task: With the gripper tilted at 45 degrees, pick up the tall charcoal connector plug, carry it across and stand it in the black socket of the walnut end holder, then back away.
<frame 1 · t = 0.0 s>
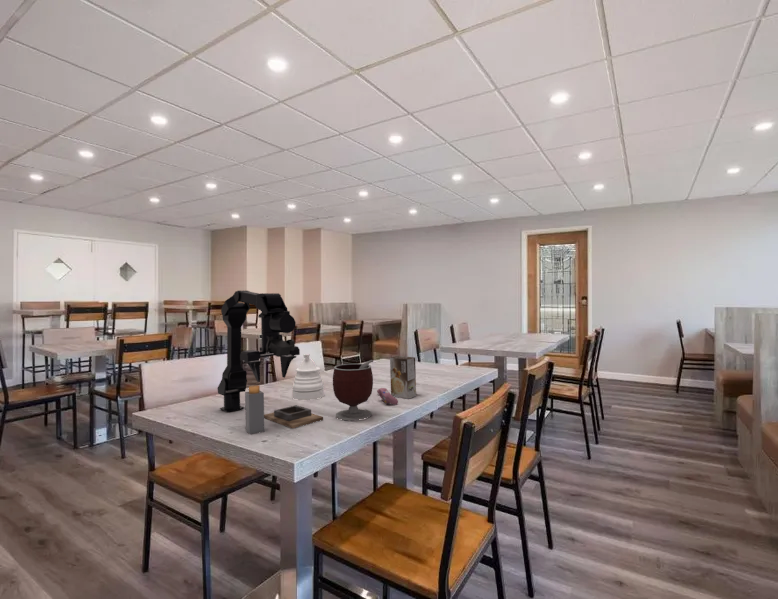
hand: (271, 379, 133), 15 cm above the table, tool pointing down, fingers open, 9 cm apart
mate gourd: (355, 416, 141), on the table
end holder: (292, 418, 139), on the table
connector plug: (255, 431, 127), on the table
honey pot: (308, 397, 170), on the table
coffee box: (403, 396, 168), on the table
pink oblong lump: (387, 403, 158), on the table
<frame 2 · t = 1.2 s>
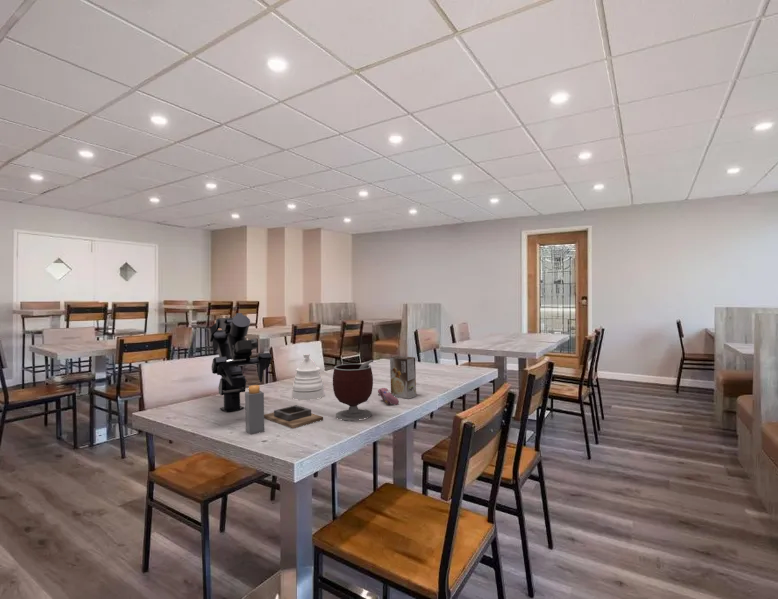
hand: (247, 383, 133), 14 cm above the table, tool tilted 45°, fingers open, 9 cm apart
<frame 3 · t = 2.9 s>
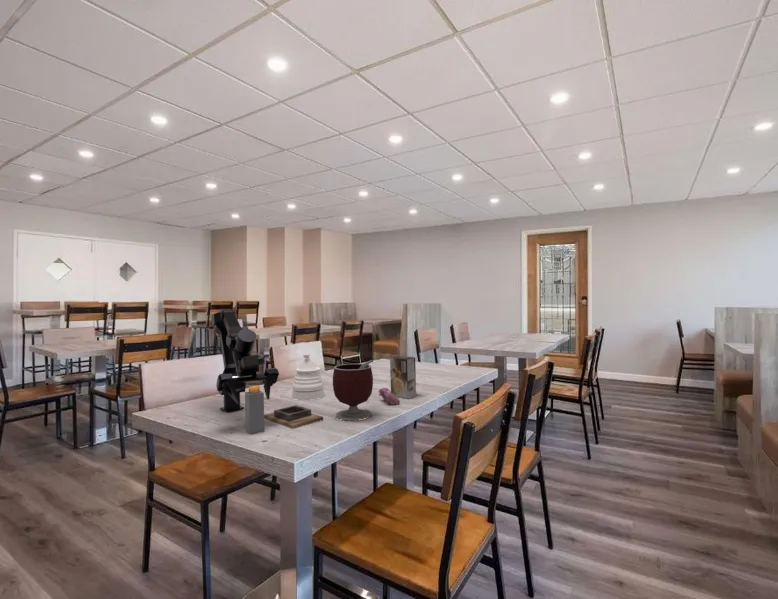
hand: (253, 401, 127), 9 cm above the table, tool tilted 45°, fingers open, 9 cm apart
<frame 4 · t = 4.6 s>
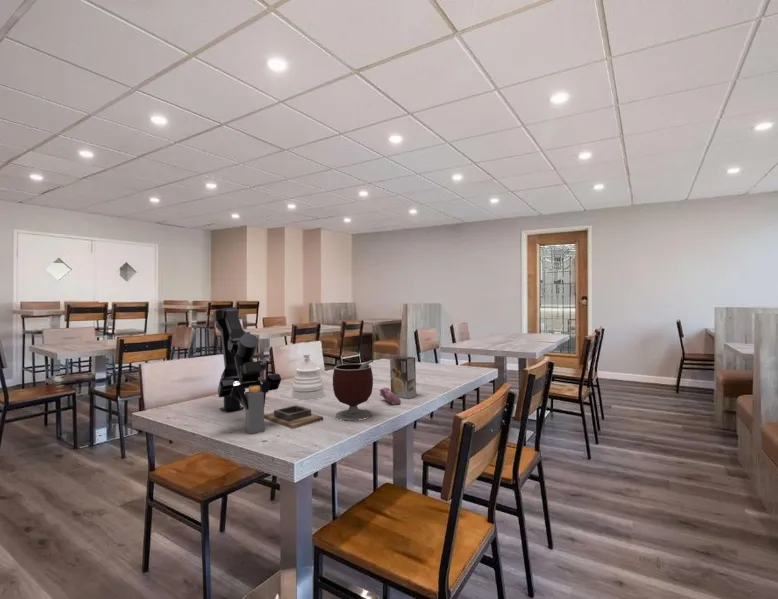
hand: (255, 407, 126), 8 cm above the table, tool tilted 45°, fingers closed on connector plug, 4 cm apart
connector plug: (254, 431, 127), on the table, touching gripper
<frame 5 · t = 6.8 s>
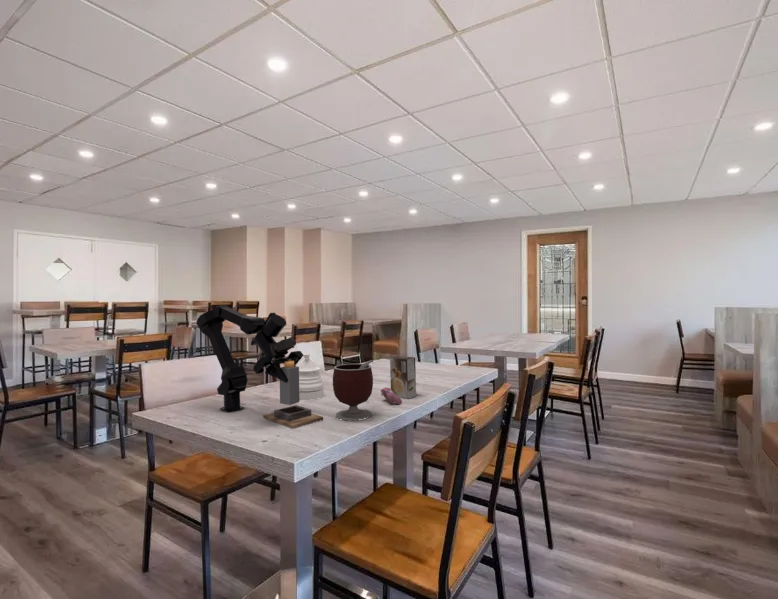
hand: (292, 380, 137), 13 cm above the table, tool tilted 45°, fingers closed on connector plug, 4 cm apart
connector plug: (289, 402, 138), point 6 cm above the table, touching gripper
when the fingers open (9 cm above the table, at t = 8.9 s): connector plug stays where it is, resting on end holder.
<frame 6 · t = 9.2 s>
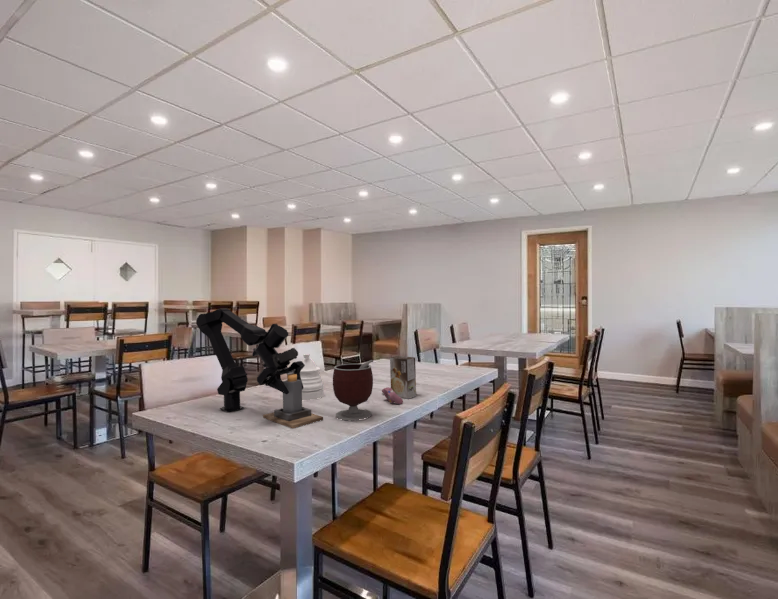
hand: (295, 391, 138), 10 cm above the table, tool tilted 45°, fingers open, 7 cm apart
connector plug: (292, 415, 139), point 1 cm above the table, touching end holder
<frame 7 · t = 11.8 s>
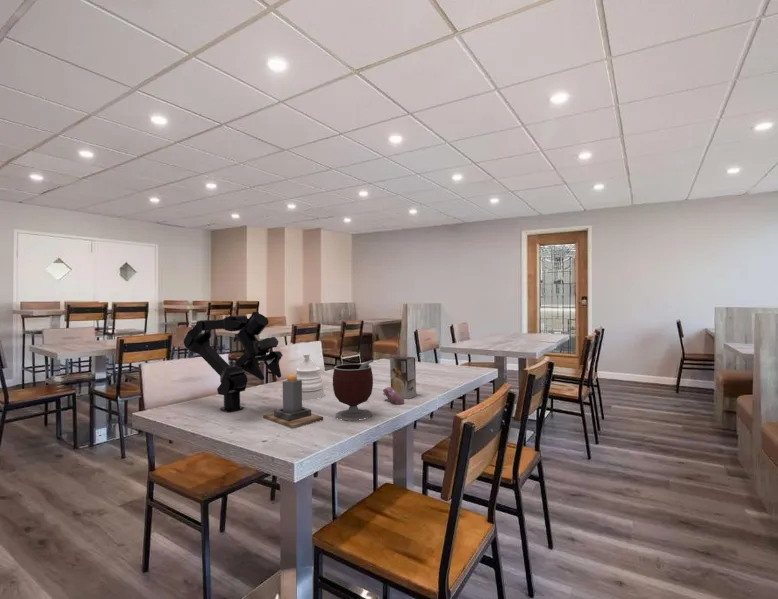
hand: (272, 378, 142), 13 cm above the table, tool tilted 40°, fingers open, 9 cm apart
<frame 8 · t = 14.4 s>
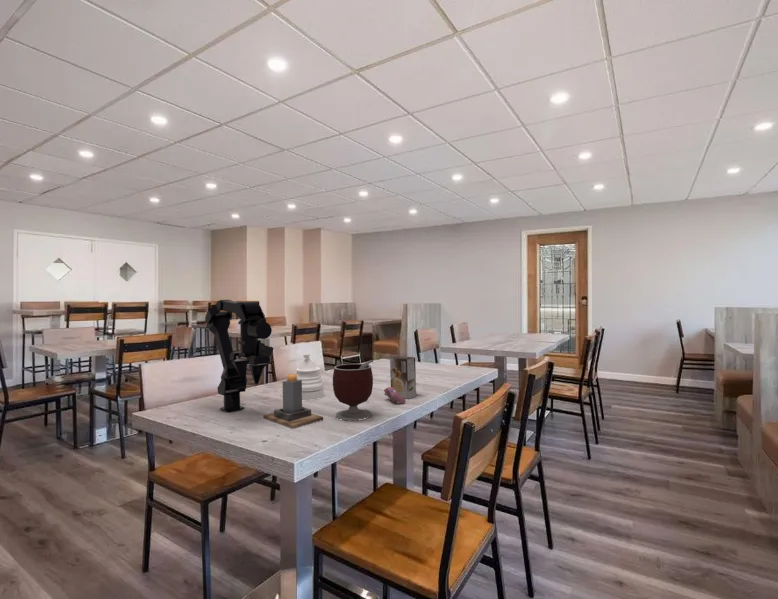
hand: (250, 382, 143), 12 cm above the table, tool pointing down, fingers open, 9 cm apart
at the end: connector plug 0.0 cm off-centre on the end holder, point 1.0 cm above the end holder's base; connector plug tilted 0°; the gripper is holding nothing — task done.
